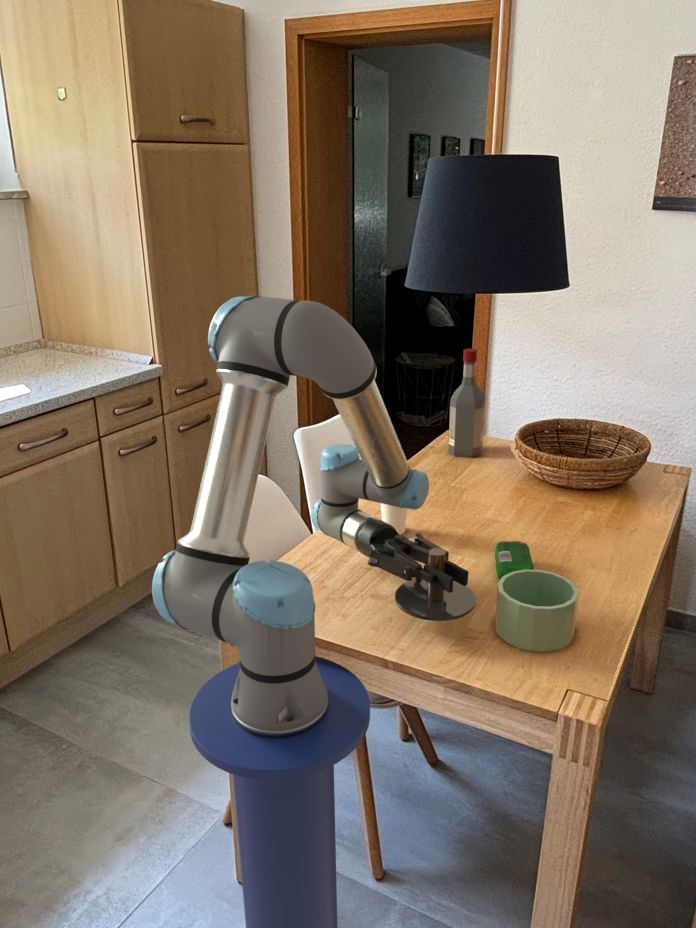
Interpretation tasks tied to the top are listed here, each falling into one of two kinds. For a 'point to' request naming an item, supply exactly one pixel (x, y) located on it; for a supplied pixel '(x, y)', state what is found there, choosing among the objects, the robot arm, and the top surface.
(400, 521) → the drinking glass
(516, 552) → the snack package
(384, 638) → the top surface
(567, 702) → the top surface
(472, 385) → the liquor
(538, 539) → the top surface
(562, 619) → the pot
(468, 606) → the lid
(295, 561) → the top surface
